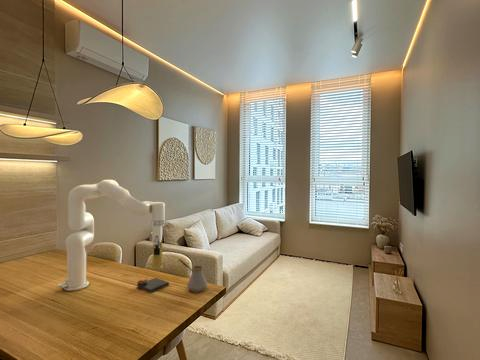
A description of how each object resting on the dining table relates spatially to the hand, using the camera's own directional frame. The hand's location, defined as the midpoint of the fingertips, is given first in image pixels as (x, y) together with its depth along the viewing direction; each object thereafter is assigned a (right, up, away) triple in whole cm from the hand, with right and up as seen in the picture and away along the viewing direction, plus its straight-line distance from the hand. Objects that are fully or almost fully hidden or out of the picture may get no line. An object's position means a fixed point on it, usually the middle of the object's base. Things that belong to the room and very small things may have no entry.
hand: (157, 253), depth 155 cm
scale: (-2, -20, 0) cm, 20 cm away
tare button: (-8, -16, -2) cm, 18 cm away
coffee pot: (+20, -20, -1) cm, 29 cm away
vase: (0, -9, 0) cm, 9 cm away
